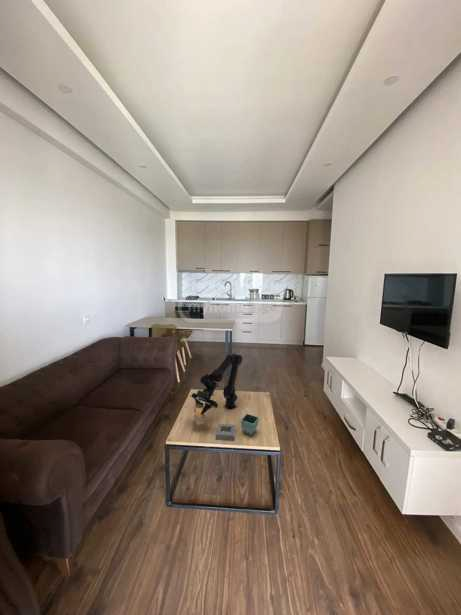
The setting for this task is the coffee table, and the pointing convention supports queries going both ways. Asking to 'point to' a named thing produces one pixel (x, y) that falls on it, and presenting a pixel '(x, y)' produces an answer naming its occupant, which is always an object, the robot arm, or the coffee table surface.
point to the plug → (199, 413)
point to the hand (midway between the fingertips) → (198, 413)
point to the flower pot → (249, 423)
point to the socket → (225, 436)
